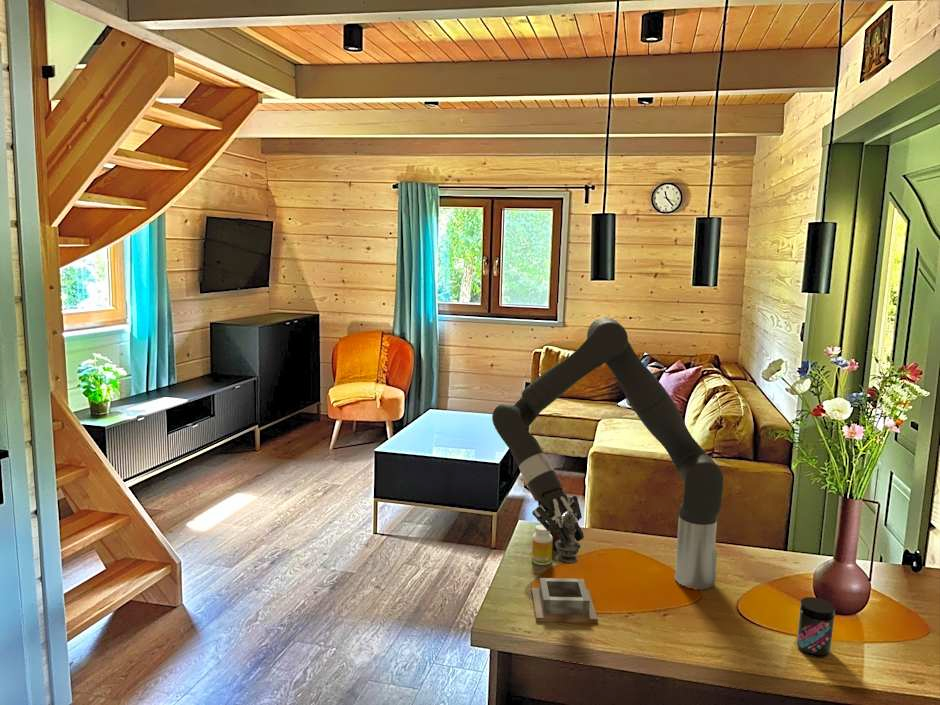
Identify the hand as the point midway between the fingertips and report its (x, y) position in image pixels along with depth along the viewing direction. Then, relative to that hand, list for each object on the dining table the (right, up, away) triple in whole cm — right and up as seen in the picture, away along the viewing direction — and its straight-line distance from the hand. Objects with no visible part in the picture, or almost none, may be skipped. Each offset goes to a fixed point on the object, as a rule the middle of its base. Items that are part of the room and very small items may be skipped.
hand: (574, 541), depth 168 cm
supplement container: (+50, -21, -11) cm, 55 cm away
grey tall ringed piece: (-1, -5, +2) cm, 6 cm away
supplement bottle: (-5, -13, +28) cm, 32 cm away
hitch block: (-2, -17, +5) cm, 17 cm away
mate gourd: (0, -11, +38) cm, 40 cm away
